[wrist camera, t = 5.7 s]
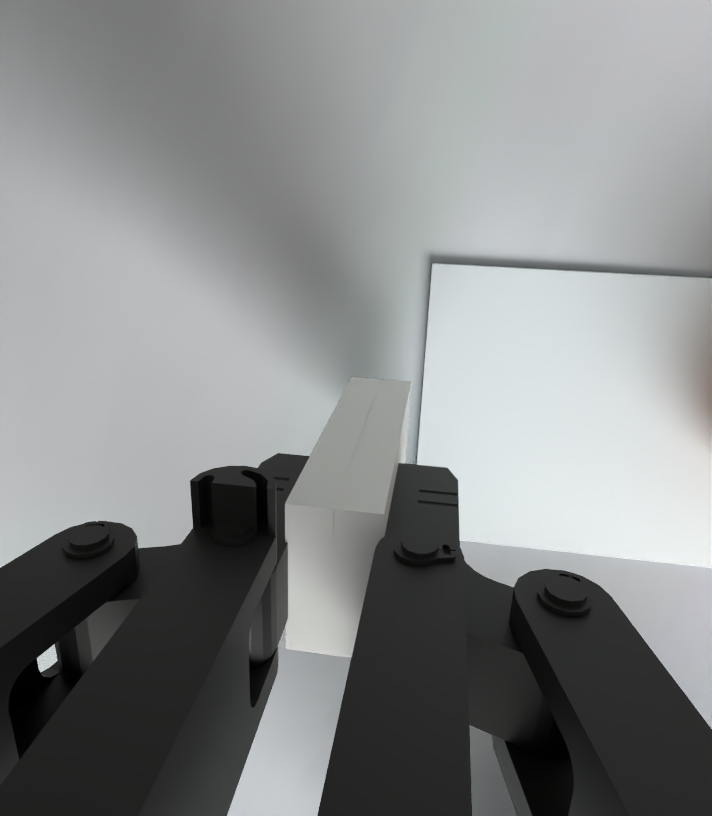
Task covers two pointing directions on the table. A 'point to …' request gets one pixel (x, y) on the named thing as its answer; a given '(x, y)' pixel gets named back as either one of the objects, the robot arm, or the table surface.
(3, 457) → the table surface
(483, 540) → the white square tile
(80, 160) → the table surface
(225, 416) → the table surface
